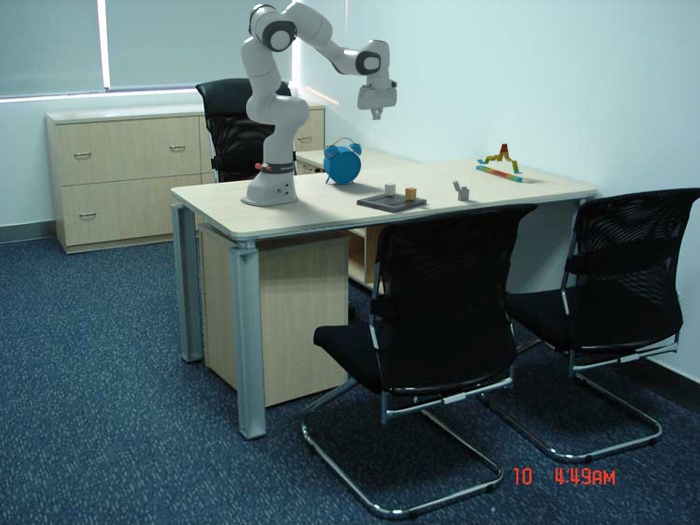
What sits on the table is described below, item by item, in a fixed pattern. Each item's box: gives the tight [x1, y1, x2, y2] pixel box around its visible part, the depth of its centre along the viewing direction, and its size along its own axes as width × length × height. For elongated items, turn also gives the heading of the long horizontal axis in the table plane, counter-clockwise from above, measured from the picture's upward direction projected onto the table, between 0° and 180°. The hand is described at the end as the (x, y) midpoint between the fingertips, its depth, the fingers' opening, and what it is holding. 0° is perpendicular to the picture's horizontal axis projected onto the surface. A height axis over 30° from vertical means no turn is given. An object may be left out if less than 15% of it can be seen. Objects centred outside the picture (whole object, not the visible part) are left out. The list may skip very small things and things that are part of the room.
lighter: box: [452, 180, 470, 202], centre depth 294 cm, size 7×2×8 cm, turn 117°
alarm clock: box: [322, 136, 362, 185], centre depth 316 cm, size 17×10×20 cm, turn 116°
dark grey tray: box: [356, 192, 427, 214], centre depth 287 cm, size 20×18×2 cm
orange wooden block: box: [404, 186, 417, 200], centre depth 286 cm, size 3×3×4 cm
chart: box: [475, 143, 523, 183], centre depth 340 cm, size 30×3×15 cm, turn 27°
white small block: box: [383, 182, 397, 196], centre depth 293 cm, size 3×3×4 cm
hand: (376, 119), depth 296 cm, fingers closed
